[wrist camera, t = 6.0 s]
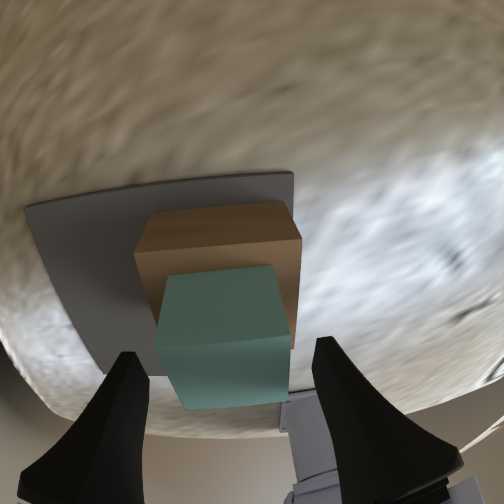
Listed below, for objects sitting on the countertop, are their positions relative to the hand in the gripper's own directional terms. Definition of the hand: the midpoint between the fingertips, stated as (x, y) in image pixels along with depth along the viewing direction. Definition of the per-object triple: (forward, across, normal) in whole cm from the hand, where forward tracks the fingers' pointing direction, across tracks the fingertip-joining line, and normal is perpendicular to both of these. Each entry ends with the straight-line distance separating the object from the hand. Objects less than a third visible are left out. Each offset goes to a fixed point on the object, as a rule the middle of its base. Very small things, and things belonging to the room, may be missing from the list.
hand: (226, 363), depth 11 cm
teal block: (+3, 0, 0) cm, 3 cm away
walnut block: (+7, 0, 0) cm, 7 cm away
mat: (+8, +4, +3) cm, 9 cm away
